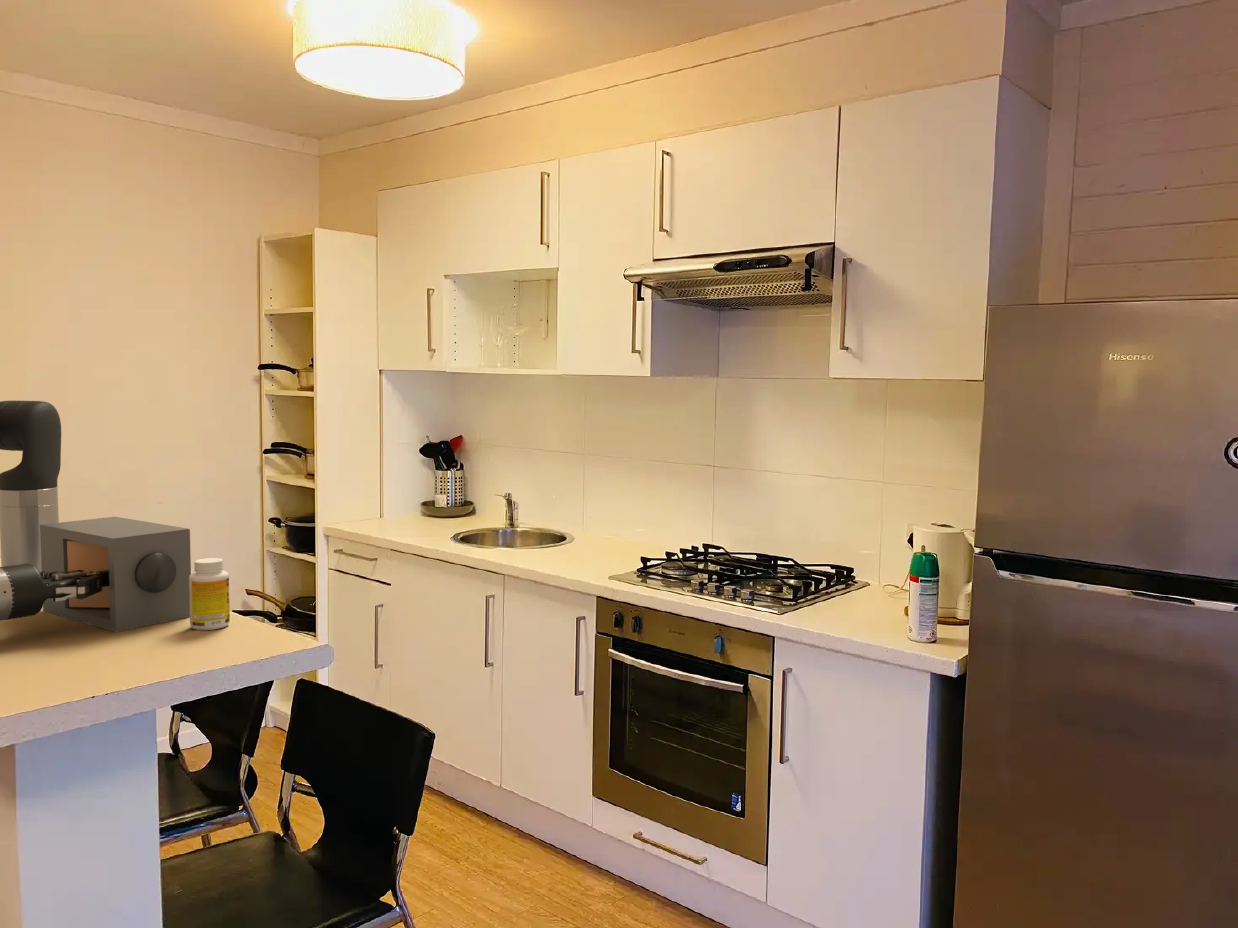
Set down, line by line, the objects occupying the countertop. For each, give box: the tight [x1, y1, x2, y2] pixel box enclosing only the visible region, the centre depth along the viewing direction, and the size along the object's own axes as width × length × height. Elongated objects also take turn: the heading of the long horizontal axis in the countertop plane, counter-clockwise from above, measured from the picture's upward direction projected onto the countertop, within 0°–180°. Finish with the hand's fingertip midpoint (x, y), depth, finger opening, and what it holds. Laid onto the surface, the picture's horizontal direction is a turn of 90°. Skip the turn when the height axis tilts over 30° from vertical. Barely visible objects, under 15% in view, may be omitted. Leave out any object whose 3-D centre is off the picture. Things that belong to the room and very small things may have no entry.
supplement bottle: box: [189, 557, 231, 631], centre depth 141 cm, size 6×6×10 cm
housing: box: [40, 516, 192, 633], centre depth 147 cm, size 23×12×14 cm, turn 57°
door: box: [67, 540, 110, 608], centre depth 144 cm, size 12×2×10 cm, turn 90°
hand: (121, 575), depth 144 cm, fingers closed
